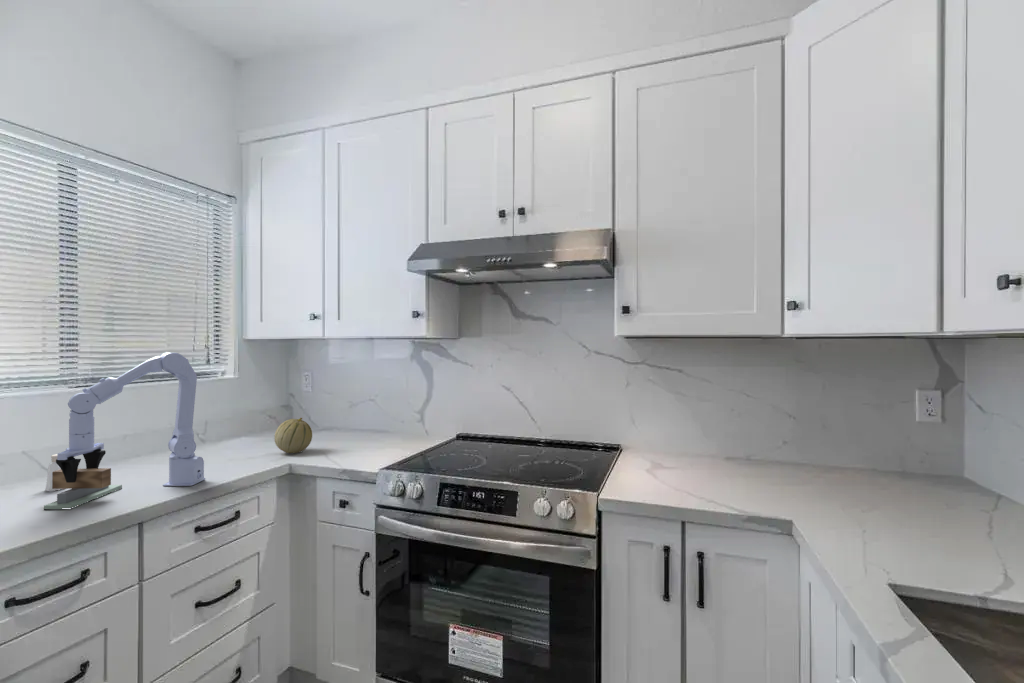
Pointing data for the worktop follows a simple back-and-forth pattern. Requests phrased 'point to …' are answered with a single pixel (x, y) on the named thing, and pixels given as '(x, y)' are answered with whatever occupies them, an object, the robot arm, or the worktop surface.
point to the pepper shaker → (52, 468)
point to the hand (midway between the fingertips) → (81, 478)
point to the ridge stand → (79, 496)
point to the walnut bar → (83, 479)
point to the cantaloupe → (293, 436)
